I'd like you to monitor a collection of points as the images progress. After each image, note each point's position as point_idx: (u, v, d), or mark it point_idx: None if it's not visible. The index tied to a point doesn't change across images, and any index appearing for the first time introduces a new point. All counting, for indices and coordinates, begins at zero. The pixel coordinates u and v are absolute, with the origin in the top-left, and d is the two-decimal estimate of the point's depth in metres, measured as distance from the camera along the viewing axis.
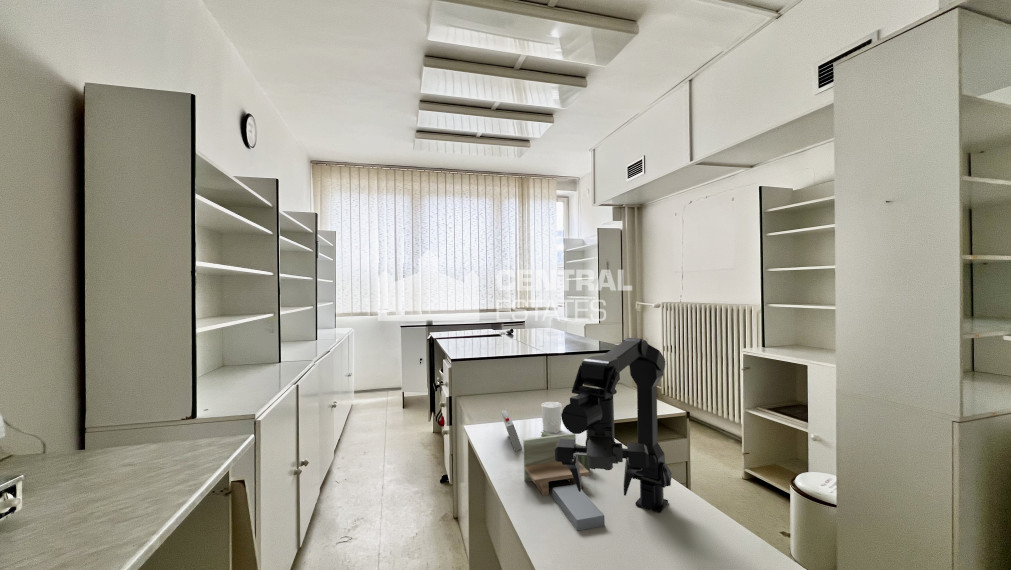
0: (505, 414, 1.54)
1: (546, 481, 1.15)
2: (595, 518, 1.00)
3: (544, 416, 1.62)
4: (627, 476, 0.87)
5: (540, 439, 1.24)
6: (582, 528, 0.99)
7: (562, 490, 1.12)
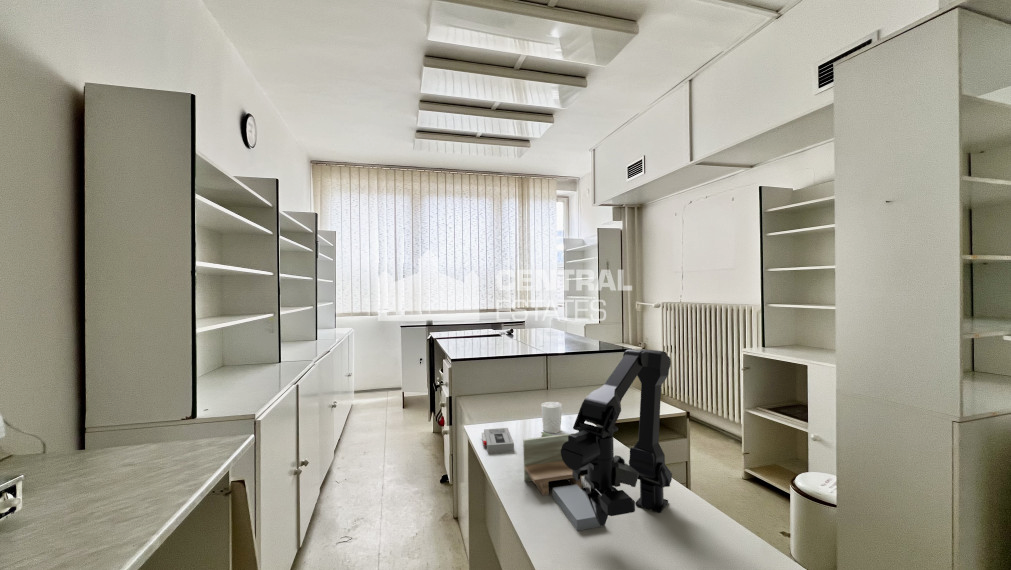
0: None
1: (546, 481, 1.15)
2: (595, 518, 1.00)
3: (544, 416, 1.62)
4: None
5: (540, 439, 1.24)
6: (582, 528, 0.99)
7: (562, 490, 1.12)
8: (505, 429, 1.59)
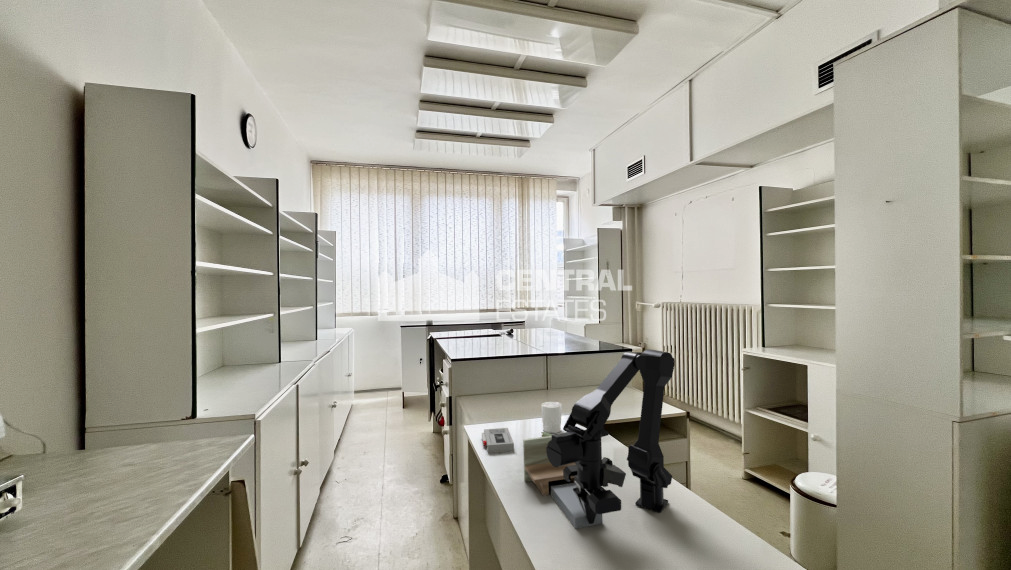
0: None
1: (546, 481, 1.15)
2: None
3: (544, 416, 1.62)
4: None
5: (540, 439, 1.24)
6: (580, 526, 1.00)
7: (560, 488, 1.13)
8: (505, 429, 1.59)
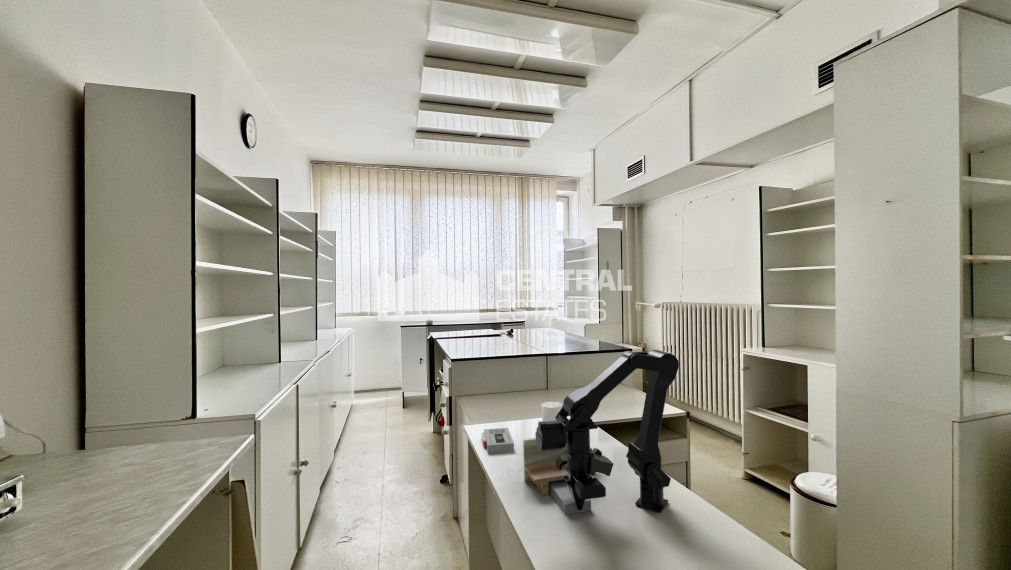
0: None
1: (546, 481, 1.15)
2: None
3: (544, 416, 1.62)
4: None
5: None
6: (570, 512, 1.06)
7: None
8: (505, 429, 1.59)
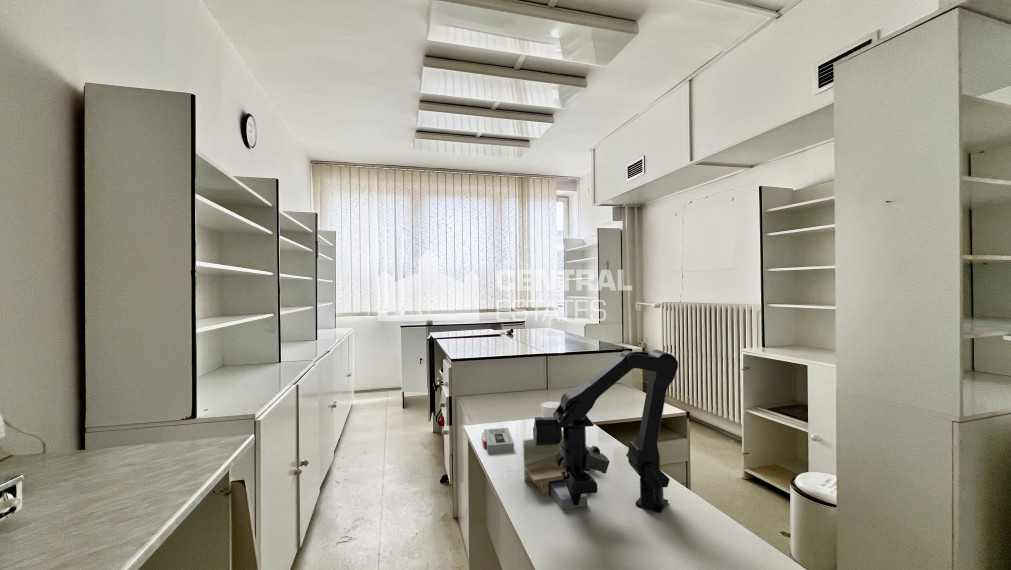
0: None
1: (546, 481, 1.15)
2: None
3: (544, 416, 1.62)
4: None
5: None
6: (566, 507, 1.08)
7: None
8: (505, 429, 1.59)
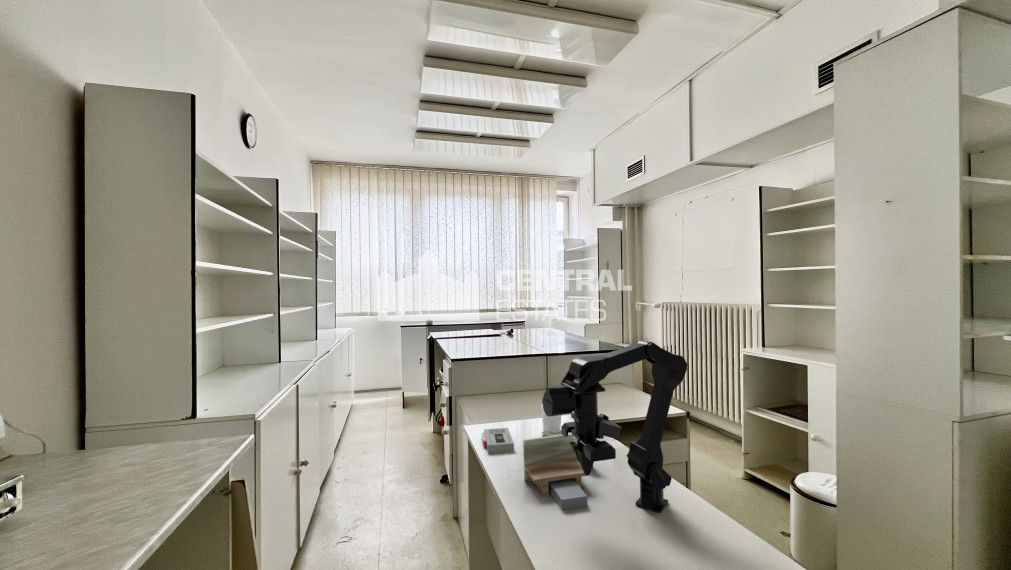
0: None
1: (546, 481, 1.15)
2: (578, 498, 1.09)
3: (544, 416, 1.62)
4: None
5: (540, 439, 1.24)
6: (566, 507, 1.08)
7: None
8: (505, 429, 1.59)
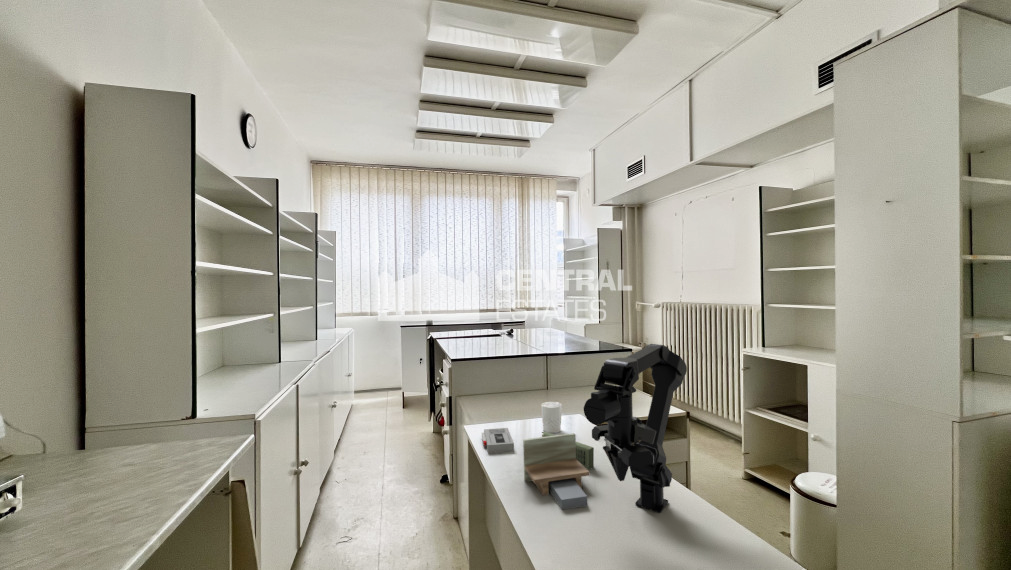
0: None
1: (546, 481, 1.15)
2: (578, 498, 1.09)
3: (544, 416, 1.62)
4: None
5: (540, 439, 1.24)
6: (566, 507, 1.08)
7: None
8: (505, 429, 1.59)
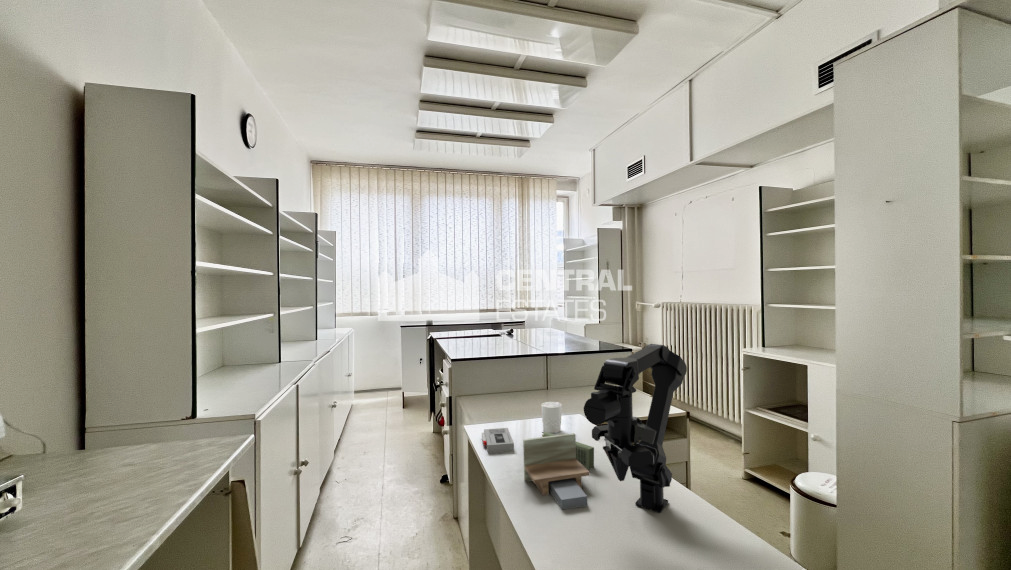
0: None
1: (546, 481, 1.15)
2: (578, 498, 1.09)
3: (544, 416, 1.62)
4: None
5: (540, 439, 1.24)
6: (566, 507, 1.08)
7: None
8: (505, 429, 1.59)
